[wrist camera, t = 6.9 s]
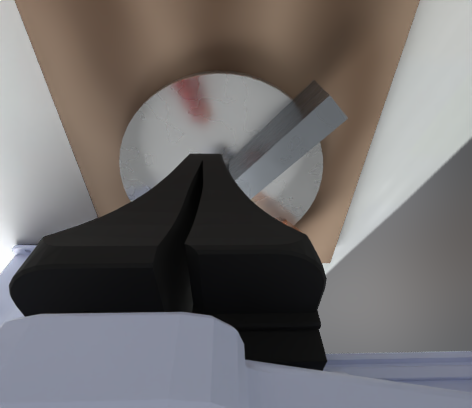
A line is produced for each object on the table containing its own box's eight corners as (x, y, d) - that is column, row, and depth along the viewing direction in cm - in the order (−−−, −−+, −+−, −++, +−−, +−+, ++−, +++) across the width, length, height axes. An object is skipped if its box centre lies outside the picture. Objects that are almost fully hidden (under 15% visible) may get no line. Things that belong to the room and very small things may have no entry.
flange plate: (87, 179, 20) (60, 214, 17) (232, -20, 13) (233, -24, 10) (243, 272, 27) (245, 309, 24) (389, 173, 20) (419, 206, 17)
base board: (121, 253, 28) (116, 264, 26) (28, -10, 15) (10, -11, 14) (325, 251, 28) (329, 262, 27) (405, -3, 15) (420, -3, 14)
